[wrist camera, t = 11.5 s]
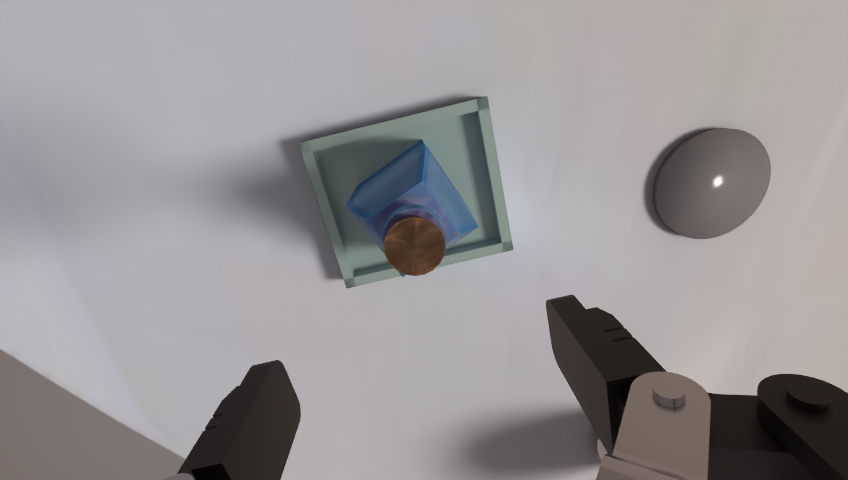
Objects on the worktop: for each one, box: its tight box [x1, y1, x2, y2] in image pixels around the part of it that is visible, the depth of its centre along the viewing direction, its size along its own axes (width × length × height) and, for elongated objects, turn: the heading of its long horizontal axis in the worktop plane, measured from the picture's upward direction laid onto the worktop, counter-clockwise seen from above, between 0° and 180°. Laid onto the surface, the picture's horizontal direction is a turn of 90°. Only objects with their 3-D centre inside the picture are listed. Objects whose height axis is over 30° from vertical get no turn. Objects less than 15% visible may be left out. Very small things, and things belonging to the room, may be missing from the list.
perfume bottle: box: [346, 140, 479, 277], centre depth 26 cm, size 6×6×12 cm
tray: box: [298, 97, 513, 288], centre depth 31 cm, size 12×14×2 cm
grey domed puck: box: [653, 128, 771, 239], centre depth 32 cm, size 9×9×1 cm
